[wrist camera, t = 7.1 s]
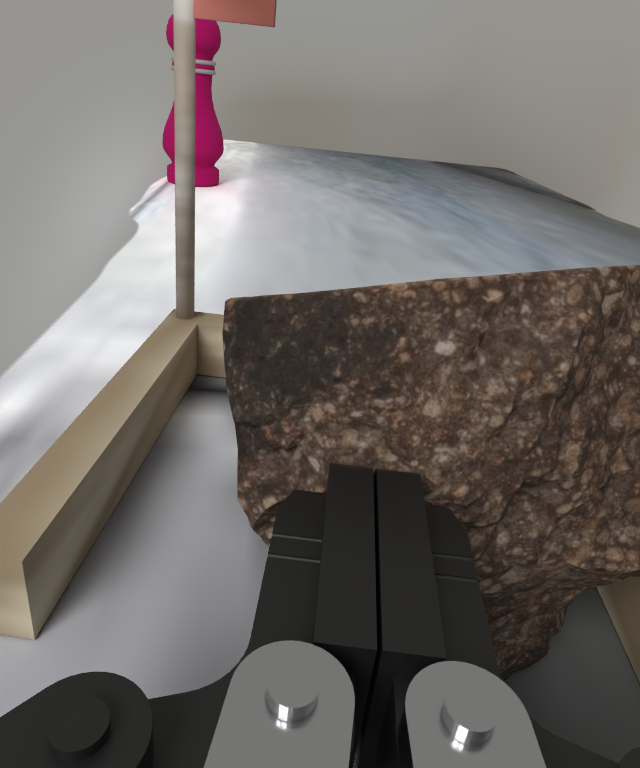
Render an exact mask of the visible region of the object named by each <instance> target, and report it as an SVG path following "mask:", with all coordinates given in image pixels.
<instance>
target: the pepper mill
mask: <svg viewBox="0 0 640 768" xmlns="http://www.w3.org/2000/svg"><path fill="white" fill-rule="evenodd" d="M166 35H167V41H168V43H169V45H170V47H171V48H172V50H173V51H174V14H173V15H172V16H171V17H170V19H169V21H168V24H167V30H166ZM220 36H221V35H220V29H219V26H218V24H217V22H216V21H213V20H204V19H196V60H195V186H197V187H208V186H215V185H218V183H219V170H218V169H217V168H216V167H214V165H215V163H216V162H217V160H218V159H219V158H220V157H221V156H222V154H223V150H224V148H223V138H222V132H221V129H220V126H219V123H218V120H217V117H216V114H215V111H214V107H213V102H212V91H211V86H212V75H215V74H216V72H215V71H214V70H215V67H214V66H215V65H216V63H215V62H213V61H212V59H213V57H214V55H215V54H216V53H217V51H218V50H219V48H220V43H221V37H220ZM171 60H172V61H173V63H172V64H173V66H172V67H171V69H172V70H173V71H174V57H172V58H171ZM163 148H164V150H165V152H166V153H167V155H168V156H169V157H170V159H171V160H172V163H171V164H169V165H168V166H167V179H168V181H169V182H171V183H174V184H175V118H174V103H173V106H172V109H171V112H170V115H169V118H168V120H167V122H166V125H165V128H164V133H163Z"/></svg>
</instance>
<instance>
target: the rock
mask: <svg viewBox="0 0 640 768" xmlns="http://www.w3.org/2000/svg"><path fill="white" fill-rule="evenodd" d="M222 337H223V352H224V365H225V374H226V384H227V391H228V396H229V401H230V406H231V411H232V415H233V419H234V423H235V429H236V437H237V445H238V502H239V503H240V505H241V507H242V508H243V510H244V512H245V513H246V515H247V516H248V519H249V522H250V525H251V527H252V529H253V530H254V532H256V533H257V534H258V535H260V537H261V538H262V539H263V541H264V542H265V544H266V545H267V547H269V546H270V542H271V537H272V532H273V527H274V522H275V517H276V512H277V508H278V507H279V506H280V505H281V504H282V502H283V501H284V500H285V499H286V498H287V497H288V496H289V495H290V494H291V493H292V491H293V490H294V489H296V490H304V491H312V492H320V493H326V486H327V478H328V471H329V464H330V463H336V464H344V465H352V466H360V467H368V468H373V475H374V471H375V469H376V468H378V469H386V470H394V471H402V472H410V473H418V474H420V476H421V481H422V488H423V495H424V502H425V505H427V506H435V507H443V508H450V510H451V511H452V512H453V514H454V515H455V516H456V518H457V519H458V520H459V521H460V523H461V524H462V525H463V527H464V528H465V529H466V531H467V533H468V537H469V542H470V546H471V550H472V555H473V562H474V564H475V568H476V572H477V577H478V584H479V586H480V590H481V594H482V599H483V603H484V608H485V612H486V616H487V621H488V625H489V630H490V634H491V638H492V643H493V647H494V652H495V656H496V660H497V665H498V669H499V672H500V676H501V679H505V678H506V677H507V676H508V675H510V674H511V673H513V672H515V671H518V670H520V669H523V668H526V667H528V666H531V665H532V664H533V663H535V662H536V661H538V660H539V659H541V658H542V657H543V656H545V655H546V654H547V653H548V649H549V646H548V643H549V640H550V638H551V636H553V635H554V634H556V633H558V632H560V630H561V628H562V625H563V623H564V618H565V614H566V609H567V606H568V605H569V604H571V603H572V602H573V601H574V600H575V599H576V598H577V596H578V595H579V594H580V593H581V592H582V591H583V590H584V589H589V588H594V587H599V586H603V585H608V584H613V583H618V582H620V581H622V580H624V579H626V578H628V577H630V576H633V577H640V265H632V266H612V267H594V268H578V269H567V270H553V271H540V272H527V273H515V274H503V275H491V276H479V277H463V278H446V279H434V280H425V281H416V282H407V283H398V284H389V285H379V286H369V287H360V288H350V289H340V290H329V291H319V292H308V293H297V294H281V295H265V296H256V297H239V298H230V299H228V300H227V301H225V310H224V321H223V331H222Z"/></svg>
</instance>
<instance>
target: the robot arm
mask: <svg viewBox="0 0 640 768" xmlns="http://www.w3.org/2000/svg"><path fill="white" fill-rule="evenodd" d="M355 753H356V768H640V747H639V748H636V749H633V750H632V751H630V752H629V753H627V754H626V755H625V756H624V758H623V759H622V760H621V761H620V763H619V764H618V763H616V762H613V761H611V760H609V759H606V758H604V757H602V756H600V755H597V754H595V753H593V752H590V751H588V750H586V749H584V748H581V747H579V746H577V745H575V744H572V743H570V742H568V741H565V740H563V739H561V738H559V737H557V736H555V735H553V734H552V733H550V732H549V731H547V730H545V729H544V728H542V727H541V726H540V725H538V724H537V723H536V722H535V721H533V720H532V719H531V718H530V717H529V716H528V713H527V711H526V709H525V707H524V705H523V704H522V702H521V700H520V699H519V698H518V696H517V695H516V694H515V693H514V691H513V690H512V689H511V688H510V687H509V686H508V685H507V684H506V683H505V682H503V681H502V679H501V676H500V672H499V669H498V665H497V660H496V656H495V652H494V647H493V643H492V638H491V634H490V630H489V625H488V621H487V616H486V612H485V608H484V603H483V599H482V594H481V590H480V586H479V584H478V577H477V572H476V568H475V564H474V562H473V555H472V550H471V546H470V542H469V537H468V533H467V531H466V529H465V528H464V527H463V525H462V524H461V523H460V521H459V520H458V519H457V518H456V516H455V515H454V514H453V512H452V511H451V510H450V508H443V507H435V506H427V505H425V502H424V495H423V488H422V481H421V476H420V474H418V473H410V472H402V471H394V470H386V469H378V468H376V469H375V471H374V475H373V468H368V467H360V466H352V465H344V464H336V463H330V464H329V471H328V478H327V486H326V493H320V492H312V491H304V490H296V489H294V490H293V491H292V493H291V494H290V495H289V496H288V497H287V498H286V499H285V500H284V501H283V502H282V504H281V505H280V506H279V507H278V508H277V512H276V517H275V522H274V527H273V532H272V537H271V542H270V546H269V551H268V558H267V561H266V566H265V571H264V576H263V580H262V585H261V590H260V595H259V600H258V605H257V610H256V614H255V619H254V624H253V629H252V634H251V638H250V642H249V645H248V648H247V650H246V652H245V654H244V656H243V657H242V658H241V660H240V661H239V663H238V664H237V665H236V666H235V667H234V668H233V669H232V670H231V671H230V672H229V673H228V674H226V675H225V676H224V677H222V678H221V679H219V680H218V681H216V682H214V683H212V684H210V685H208V686H206V687H203V688H201V689H197V690H193V691H190V692H185V693H180V694H174V695H169V696H164V697H158V698H153V699H147V697H146V696H145V694H144V693H143V691H142V690H141V689H140V688H139V687H138V686H137V685H136V684H135V683H134V682H132V681H130V680H129V679H127V678H125V677H123V676H120V675H117V674H114V673H108V672H87V673H81V674H77V675H73V676H70V677H67V678H65V679H62V680H60V681H57V682H56V683H54V684H52V685H50V686H49V687H47V688H45V689H44V690H42V691H41V692H39V693H37V694H36V695H34V696H33V697H31V698H30V699H28V700H27V701H25V702H23V703H22V704H20V705H19V706H17V707H16V708H14V709H13V710H11V711H9V712H8V713H6V714H5V715H3V716H2V717H0V768H352V767H353V762H354V758H355Z"/></svg>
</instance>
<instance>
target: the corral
mask: <svg viewBox="0 0 640 768" xmlns="http://www.w3.org/2000/svg"><path fill="white" fill-rule="evenodd" d="M173 5H174V6H173V7H174V118H175V226H176V309H174V310H173V311H172V312H171V313H170V314H169V315H168V316H167V317H166V319H165V320H164V321H163V322H162V323H161V324H160V325H159V326H158V328H157V329H156V330H155V331H154V332H153V333H152V334H151V335H150V337H149V338H148V339H147V340H146V341H145V342H144V343H143V344H142V345H141V347H140V348H139V349H138V350H137V351H136V352H135V353H134V354H133V356H132V357H131V358H130V359H129V360H128V361H127V362H126V363H125V364H124V366H123V367H122V368H121V369H120V370H119V371H118V372H117V373H116V375H115V376H114V377H113V378H112V379H111V380H110V381H109V382H108V384H107V385H106V386H105V387H104V388H103V389H102V390H101V391H100V392H99V394H98V395H97V396H96V397H95V398H94V399H93V400H92V401H91V403H90V404H89V405H88V406H87V407H86V408H85V409H84V410H83V412H82V413H81V414H80V415H79V416H78V417H77V418H76V419H75V420H74V422H73V423H72V424H71V425H70V426H69V427H68V428H67V429H66V431H65V432H64V433H63V434H62V435H61V436H60V437H59V438H58V440H57V441H56V442H55V443H54V444H53V445H52V446H51V447H50V448H49V450H48V451H47V452H46V453H45V454H44V455H43V456H42V457H41V459H40V460H39V461H38V462H37V463H36V464H35V465H34V466H33V468H32V469H31V470H30V471H29V472H28V473H27V474H26V475H25V476H24V478H23V479H22V480H21V481H20V482H19V483H18V484H17V485H16V487H15V488H14V489H13V490H12V491H11V492H10V493H9V494H8V496H7V497H6V498H5V499H4V500H3V501H2V502H1V503H0V635H4V636H12V637H19V638H26V639H34V640H35V638H36V637H37V635H38V633H39V632H40V630H41V629H42V627H43V625H44V624H45V622H46V620H47V619H48V617H49V615H50V614H51V612H52V611H53V609H54V607H55V606H56V604H57V602H58V601H59V599H60V597H61V596H62V594H63V593H64V591H65V589H66V588H67V586H68V584H69V583H70V581H71V579H72V578H73V576H74V575H75V573H76V571H77V570H78V568H79V566H80V565H81V563H82V561H83V560H84V558H85V557H86V555H87V553H88V552H89V550H90V548H91V547H92V545H93V543H94V542H95V540H96V538H97V537H98V535H99V534H100V532H101V530H102V529H103V527H104V525H105V524H106V522H107V520H108V519H109V517H110V516H111V514H112V512H113V511H114V509H115V507H116V506H117V504H118V502H119V501H120V499H121V498H122V496H123V494H124V493H125V491H126V489H127V488H128V486H129V484H130V483H131V481H132V480H133V478H134V476H135V475H136V473H137V471H138V470H139V468H140V466H141V465H142V463H143V462H144V460H145V458H146V457H147V455H148V453H149V452H150V450H151V448H152V447H153V445H154V444H155V442H156V440H157V439H158V437H159V435H160V434H161V432H162V430H163V429H164V427H165V426H166V424H167V422H168V421H169V419H170V417H171V416H172V414H173V412H174V411H175V409H176V408H177V406H178V404H179V403H180V401H181V399H182V398H183V396H184V394H185V393H186V391H187V390H188V388H189V386H190V385H191V383H192V381H193V380H194V378H195V376H196V375H197V374H199V375H207V376H215V377H223V378H226V374H225V365H224V352H223V337H222V331H223V321H224V315H219V314H211V313H202V312H194V261H195V60H196V19H204V20H213V21H222V22H232V23H241V24H250V25H259V26H268V27H275V16H276V15H275V14H276V0H173ZM597 589H598V591H599V594H600V596H601V598H602V600H603V603H604V605H605V607H606V609H607V611H608V614H609V616H610V618H611V620H612V623H613V625H614V627H615V629H616V632H617V634H618V636H619V638H620V640H621V643H622V645H623V647H624V649H625V652H626V654H627V656H628V658H629V660H630V663H631V665H632V667H633V669H634V672H635V674H636V676H637V678H638V681H639V683H640V577H633V576H630V577H628V578H626V579H624V580H622V581H620V582H618V583H613V584H608V585H603V586H599V587H597Z"/></svg>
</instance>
